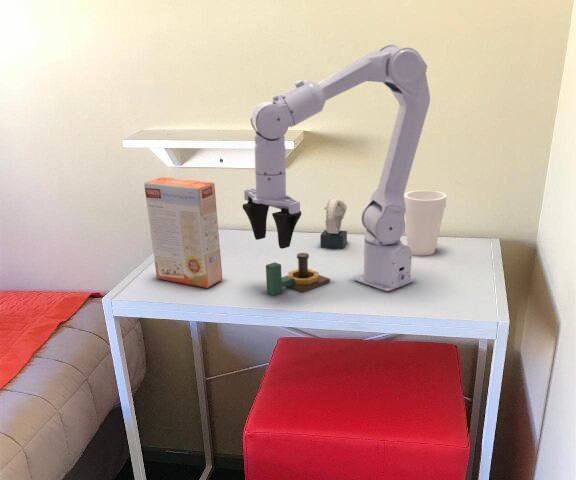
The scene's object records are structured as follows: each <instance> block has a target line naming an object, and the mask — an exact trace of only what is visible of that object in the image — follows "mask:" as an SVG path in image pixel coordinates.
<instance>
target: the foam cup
mask: <svg viewBox="0 0 576 480" xmlns="http://www.w3.org/2000/svg"><path fill="white" fill-rule="evenodd" d="M404 200H405V206H406V211H405V215H404V220H405V231H406V246H408V247H409V248H410V250H411V255H413V256H430V255H433V254H435V253H436V249H437V245H438V244H437V243H438V239H439V236H440V231H441V226H442V221H443V216H444V213H445V208H446V207H447V193H444V192H442V191H437V190H429V189H421V190H419V189H418V190H410V191H407V192H404Z"/></svg>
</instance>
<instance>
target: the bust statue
mask: <svg viewBox="0 0 576 480" xmlns="http://www.w3.org/2000/svg"><path fill="white" fill-rule="evenodd" d="M324 210H326V211H325V229H324V230H323V231H322V232H321V234H320V248H321V249H334V250H335V249H336V250H337V249H338V250H344V249H345V247H346V245H347V244H348V231H347V230H341V228H342V222H343V220H344V218H345V214H346V212H347V210H348V207H347V204H346V203H345V201H343V200H341V199H339V198H332V199H328V200H327V202H326V205H325V206H324Z"/></svg>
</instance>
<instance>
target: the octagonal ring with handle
mask: <svg viewBox="0 0 576 480" xmlns="http://www.w3.org/2000/svg"><path fill="white" fill-rule="evenodd" d="M308 275H309V276H312V277H310V278H296V276H298V268H297V269H294V270H292V271H289V272H287V276H288V278H285V279H282V277H283V276H282V264H280V263H278V262H272V263H268V264H266V265H265V276H266V277H265V279H266V293H267V294H269V295H271V296H276V295H279V294H281V293H283V288H287V286H289V285H292V284H311V283H314V282H317V281H318V277H319V275H320V273H319V271H316V270H314V269H309V268H308Z"/></svg>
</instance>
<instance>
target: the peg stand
mask: <svg viewBox="0 0 576 480" xmlns="http://www.w3.org/2000/svg"><path fill="white" fill-rule="evenodd" d="M309 254H310V253H308V252H298V253H297V254H296V258H297V269H298V276H296V278H310V277H312V276H309V275H308V269H309V258H310V255H309ZM281 277H282V279H285V278H288V275H285V276H281ZM329 283H331V279H330V278H329V277H326V276H323V275H320V274H319V277H318V281H317V282H314V283H311V284H292V285H289V286H286V288H290V289H292V290H295V291H297V292H300V293H304V292H307V291H310V290H313V289H315V288H318V287H321V286H323V285H326V284H329Z"/></svg>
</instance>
